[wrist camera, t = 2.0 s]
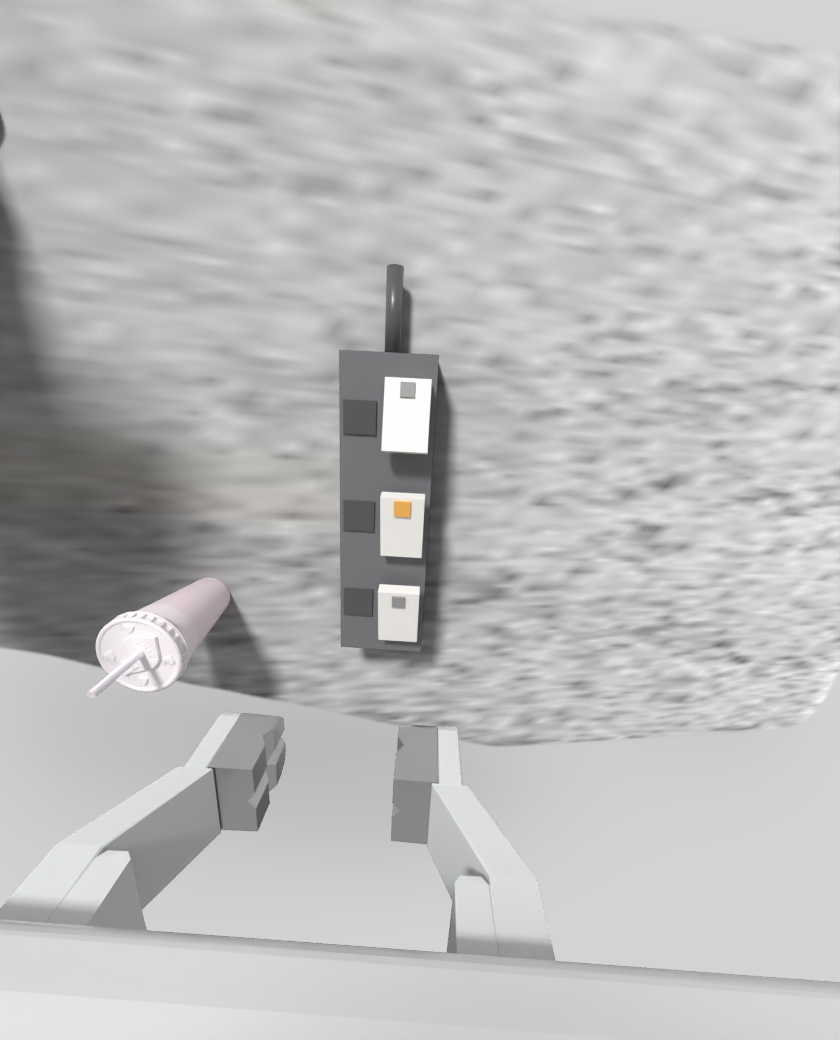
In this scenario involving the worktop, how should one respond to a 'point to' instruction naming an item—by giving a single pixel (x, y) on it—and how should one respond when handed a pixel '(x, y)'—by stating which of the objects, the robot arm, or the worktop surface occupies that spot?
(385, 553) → the rocker
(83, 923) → the robot arm
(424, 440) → the plate
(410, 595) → the block
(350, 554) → the power strip
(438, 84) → the worktop surface
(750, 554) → the worktop surface
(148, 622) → the smoothie
